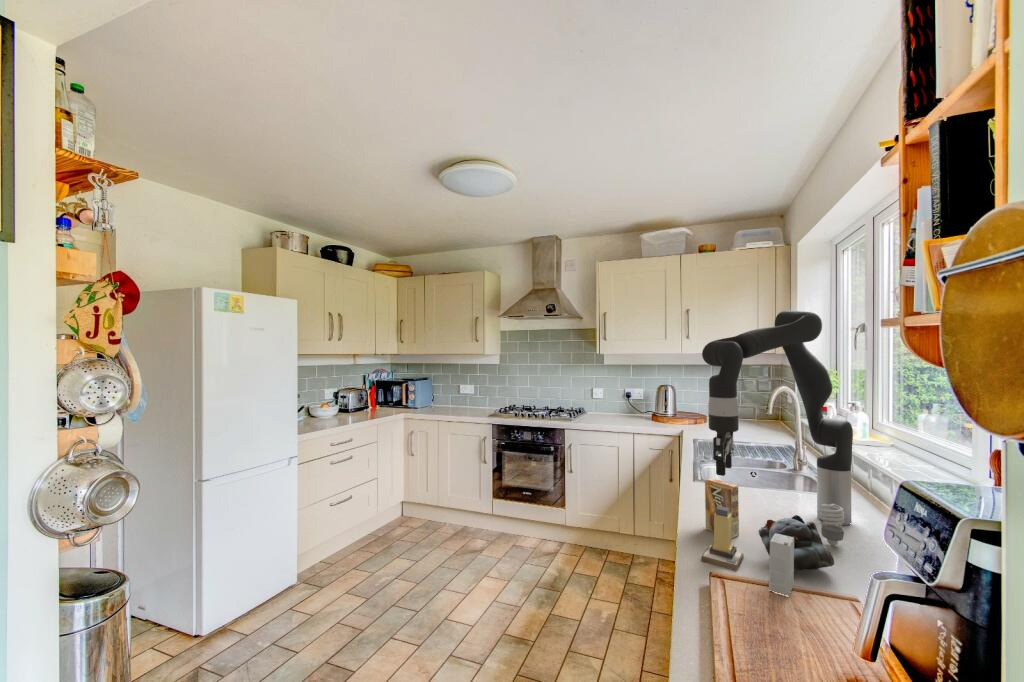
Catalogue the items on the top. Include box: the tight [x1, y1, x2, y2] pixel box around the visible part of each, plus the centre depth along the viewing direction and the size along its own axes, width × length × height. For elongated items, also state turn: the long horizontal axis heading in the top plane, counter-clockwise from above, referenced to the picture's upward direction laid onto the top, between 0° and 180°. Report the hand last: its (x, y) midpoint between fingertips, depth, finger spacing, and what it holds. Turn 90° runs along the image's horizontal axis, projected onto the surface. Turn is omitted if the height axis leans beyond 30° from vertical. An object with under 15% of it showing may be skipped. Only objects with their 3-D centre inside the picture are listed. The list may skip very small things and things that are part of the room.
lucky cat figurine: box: [758, 514, 835, 573], centre depth 117 cm, size 15×12×14 cm
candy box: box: [704, 478, 740, 539], centre depth 138 cm, size 9×4×15 cm, turn 33°
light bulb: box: [820, 504, 845, 547], centre depth 129 cm, size 6×6×12 cm
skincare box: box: [768, 533, 795, 597], centre depth 105 cm, size 6×4×12 cm
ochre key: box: [712, 543, 735, 554], centre depth 121 cm, size 4×4×2 cm
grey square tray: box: [700, 542, 745, 571], centre depth 120 cm, size 8×9×3 cm
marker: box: [713, 506, 732, 550], centre depth 121 cm, size 4×4×10 cm
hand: (724, 471), depth 124 cm, fingers open, 8 cm apart
